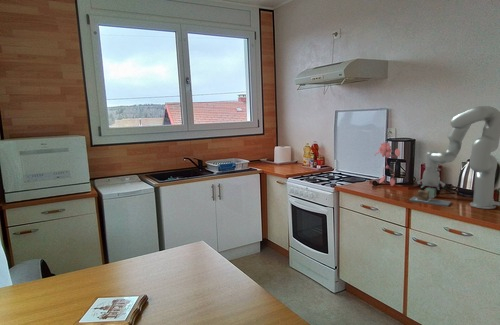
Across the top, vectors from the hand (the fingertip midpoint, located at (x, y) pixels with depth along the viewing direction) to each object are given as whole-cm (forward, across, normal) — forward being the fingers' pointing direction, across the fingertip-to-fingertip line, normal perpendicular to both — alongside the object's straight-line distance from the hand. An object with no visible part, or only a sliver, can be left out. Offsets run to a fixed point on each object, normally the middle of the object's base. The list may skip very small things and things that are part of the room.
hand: (430, 194), depth 218 cm
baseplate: (+1, -3, +15) cm, 15 cm away
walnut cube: (0, +1, +15) cm, 15 cm away
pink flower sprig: (+2, +37, -18) cm, 41 cm away
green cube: (+2, 0, 0) cm, 2 cm away
